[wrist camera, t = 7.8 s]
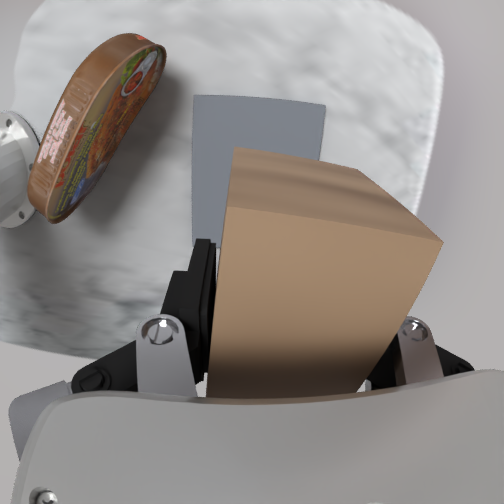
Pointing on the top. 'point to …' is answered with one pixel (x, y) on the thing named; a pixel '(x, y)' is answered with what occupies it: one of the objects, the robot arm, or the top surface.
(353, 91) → the top surface
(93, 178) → the tin
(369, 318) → the card box
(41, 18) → the top surface
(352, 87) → the top surface
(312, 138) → the mat
